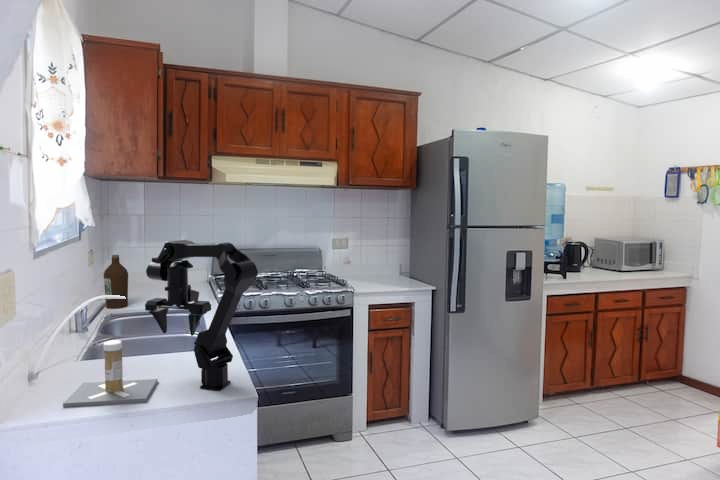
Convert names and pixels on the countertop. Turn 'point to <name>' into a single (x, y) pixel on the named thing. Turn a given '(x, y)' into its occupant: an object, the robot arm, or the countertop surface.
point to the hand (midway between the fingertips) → (178, 334)
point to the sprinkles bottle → (113, 366)
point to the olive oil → (116, 283)
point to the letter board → (111, 393)
